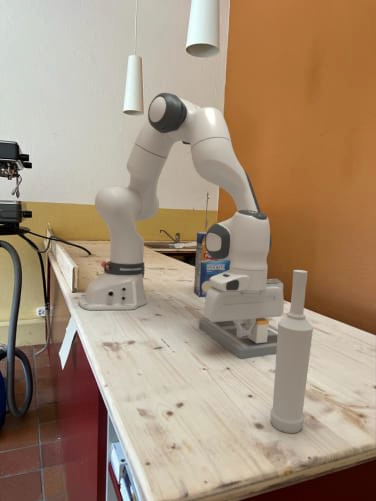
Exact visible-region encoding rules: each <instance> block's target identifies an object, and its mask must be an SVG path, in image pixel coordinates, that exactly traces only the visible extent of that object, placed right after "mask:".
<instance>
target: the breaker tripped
mask: <svg viewBox="0 0 376 501" xmlns="http://www.w3.org/2000/svg"><path fill="white" fill-rule="evenodd" d="M268 324H269V325H270V320H267V319H265V318H256V323H255V325H254V326H253V328H252V329H251V335H250V336H248V337H247V338H249V339H250V340H252V341H254V342H255V343H264V342H267V335H268Z"/></svg>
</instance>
